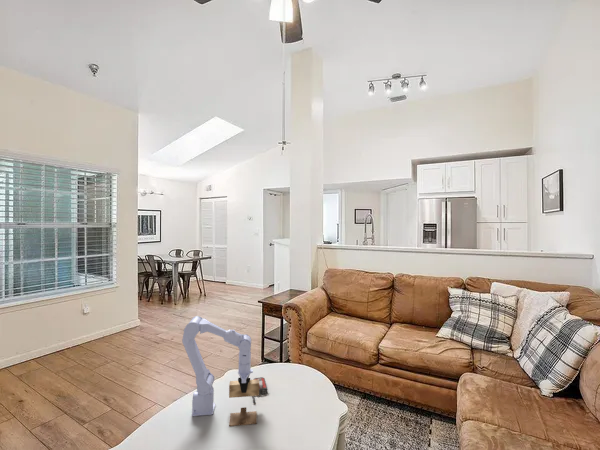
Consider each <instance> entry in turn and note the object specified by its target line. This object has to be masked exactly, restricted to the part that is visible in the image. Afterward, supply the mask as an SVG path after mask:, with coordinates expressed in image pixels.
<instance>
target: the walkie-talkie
mask: <svg viewBox="0 0 600 450" xmlns="http://www.w3.org/2000/svg"><path fill="white" fill-rule="evenodd" d="M257 379H259V395H265V394H267V393H268V386H267V383H266V379H265V377H264V376H260V377H255V378H253V379H252V380H257ZM251 397H252V402H253V403H256V396H251Z"/></svg>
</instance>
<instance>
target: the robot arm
mask: <svg viewBox="0 0 600 450" xmlns="http://www.w3.org/2000/svg"><path fill="white" fill-rule="evenodd" d="M207 332H208V333H211V334H213V335H216V336H218V337H221V338H223V341H224V342H226V343H228V344H231V345H232V346H235V347H237V348H238V371H237V374H238V378H237V381H238V382H239V384H240V387H241V392H242V393H246V391H247V386H248V383H249V381H250V380H251V377H250V375H251V374H253V373H254V370H253V369H251V368H252V367H251V365H252V364H251V361H252V351H251V350H252V337H251V336H250V335H249V334H243V333H239V332H237V331H236V330H235V329H234V328H233V329H230V328H229V329H228V330H226V329H225V328H223V327H221V326H219V325H217V324H215V323H213V322H211V321H209V320H208V319H206V318H204V317H201V316H199V315H196V316H193V317H192V318H191V319H190V321H189V322H188V323H187V324H186V325H185V328H184V329H183V334H182V339H181V340H182V345H183V347H184V350H185V352H186V355H187V357H188V360H189V362H190V364H191V366H192V369H193V371H194V373H195V384H196V391H194V392H193V395H192V400H191V402H192V404H191V405H192V406H191V407H192V408H191V416H192V417H198V416H211V415H213V414H214V412H215V406H216V403H215V402H214V396H215V395H214V394H215V393H214V392H215V390H214V387H213V384H214V383H215V375H214V374H213V373H211V371H210V369H209V368H207V366H206V364H205V361H204V359H203V357H202V354H201V352H200V349H199V345H198V344H197V341H196V336H197V335H198V334H201V335H202V334H204V333H207Z"/></svg>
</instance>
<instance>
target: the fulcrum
mask: <svg viewBox="0 0 600 450" xmlns="http://www.w3.org/2000/svg"><path fill="white" fill-rule="evenodd" d="M229 414H230V416H229V422H228V426H229V427H235V426H236V427H238V426H247V425H249V426H250V425H256V424H258V423H257V418H258V417H257V410H256V411H253V410H252V411H247V407H240V412H231V413H229Z"/></svg>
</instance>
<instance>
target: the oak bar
mask: <svg viewBox="0 0 600 450" xmlns="http://www.w3.org/2000/svg"><path fill="white" fill-rule="evenodd" d="M228 387H229V388H228V397H229V398H245V397H252V396H255V397H259V396H260V394H259V379H257V380H253V379H250V381H249V383H248V386H247V391H246V393H242V392H241V387H240V384H239V382H238V380H230V381H229V384H228Z"/></svg>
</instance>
